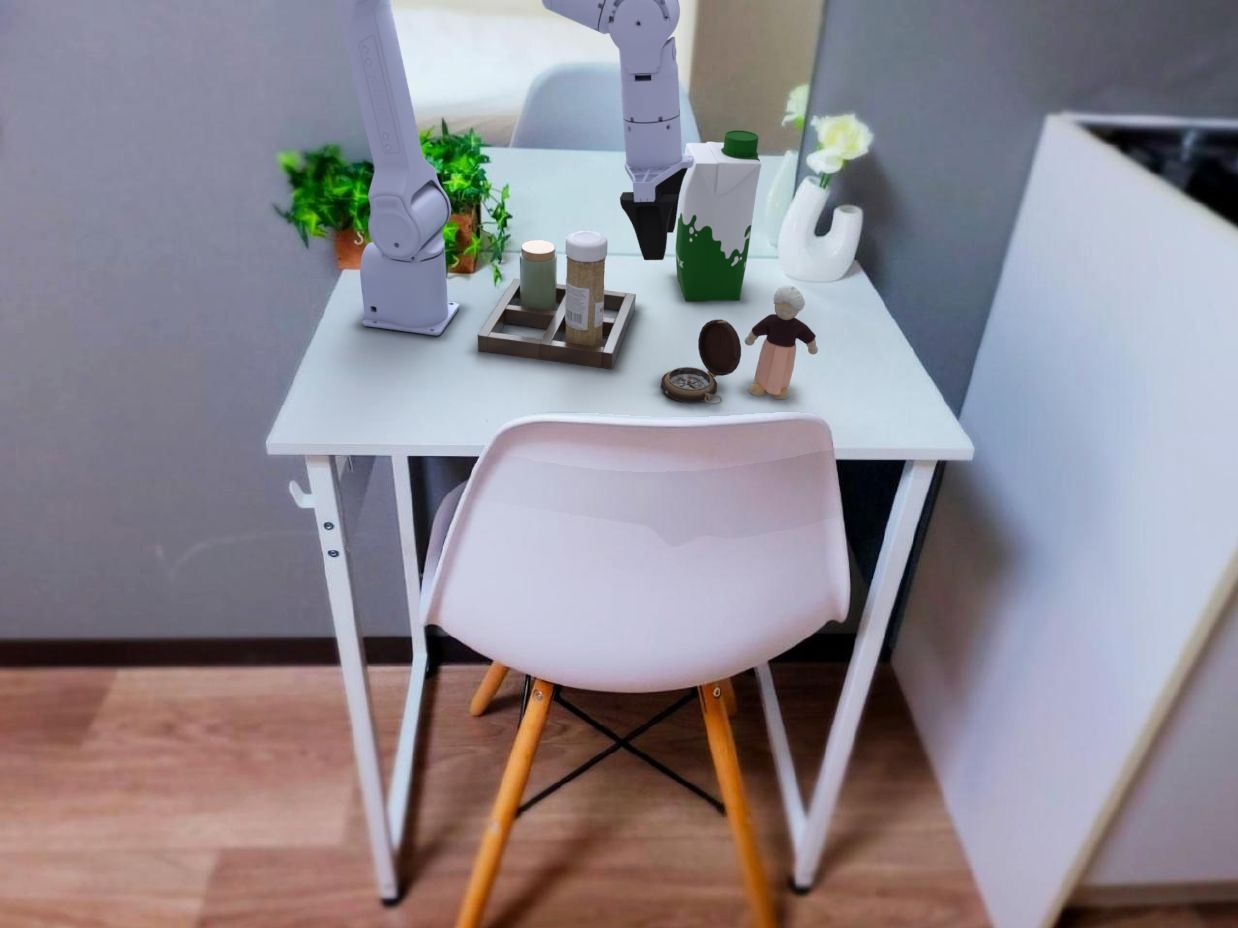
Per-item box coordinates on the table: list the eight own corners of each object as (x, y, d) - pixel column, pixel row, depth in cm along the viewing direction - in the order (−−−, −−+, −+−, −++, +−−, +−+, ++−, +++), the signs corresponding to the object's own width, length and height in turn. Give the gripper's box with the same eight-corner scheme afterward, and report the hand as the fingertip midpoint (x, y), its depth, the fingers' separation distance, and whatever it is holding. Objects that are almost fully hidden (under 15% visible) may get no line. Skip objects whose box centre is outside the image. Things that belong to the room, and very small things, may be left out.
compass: (648, 385, 108) (653, 326, 104) (703, 366, 112) (710, 308, 108) (695, 419, 103) (702, 358, 99) (750, 398, 107) (759, 338, 103)
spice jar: (516, 317, 119) (515, 251, 115) (525, 301, 123) (525, 237, 118) (551, 322, 119) (552, 256, 114) (559, 306, 123) (560, 241, 118)
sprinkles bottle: (610, 350, 114) (615, 241, 106) (576, 360, 112) (579, 249, 104) (589, 334, 117) (593, 226, 109) (556, 342, 115) (558, 233, 107)
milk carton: (748, 303, 126) (769, 147, 114) (678, 304, 125) (693, 146, 113) (734, 274, 133) (753, 124, 121) (668, 274, 132) (680, 123, 120)
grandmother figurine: (739, 399, 107) (755, 292, 99) (738, 380, 110) (752, 276, 102) (810, 404, 107) (831, 297, 99) (806, 385, 110) (826, 281, 102)
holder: (477, 350, 112) (477, 335, 111) (514, 292, 125) (514, 278, 124) (611, 369, 110) (612, 353, 109) (635, 308, 123) (636, 293, 122)
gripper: (681, 135, 92) (688, 271, 99) (699, 95, 103) (703, 220, 111) (607, 137, 93) (619, 272, 100) (633, 98, 105) (642, 221, 112)
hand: (659, 245), depth 106 cm, fingers open, 7 cm apart
